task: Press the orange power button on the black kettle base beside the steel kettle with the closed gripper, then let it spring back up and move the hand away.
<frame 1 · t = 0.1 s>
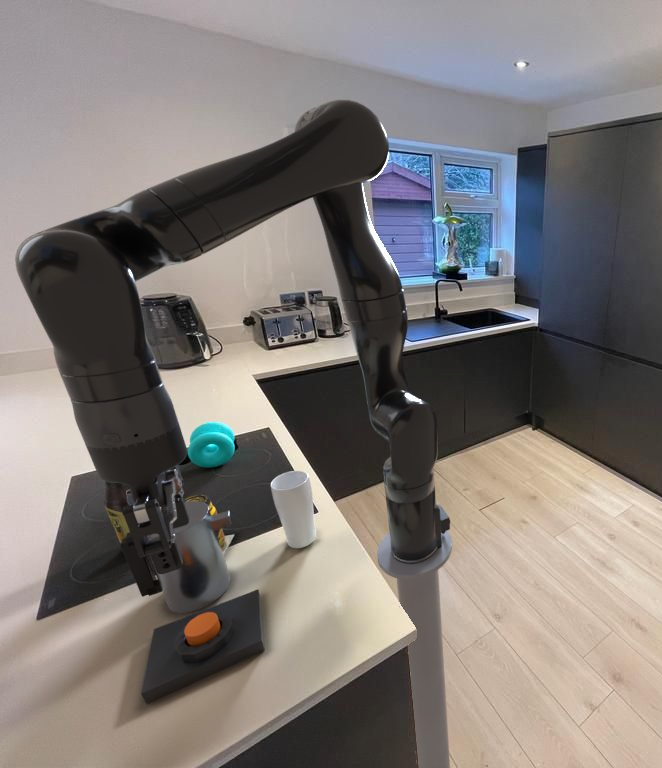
hand: (175, 545, 49), 24 cm above the worktop, tool pointing down, fingers open, 8 cm apart
kettle: (200, 590, 71), on the worktop
drinking glass: (302, 541, 83), on the worktop
sauce bottle: (145, 546, 81), on the worktop
condiment: (204, 551, 80), on the worktop
kettle base: (210, 644, 62), on the worktop
turquoise yo-yo: (216, 460, 111), on the worktop
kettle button: (202, 628, 60), point 5 cm above the worktop, slide at 0.1 cm
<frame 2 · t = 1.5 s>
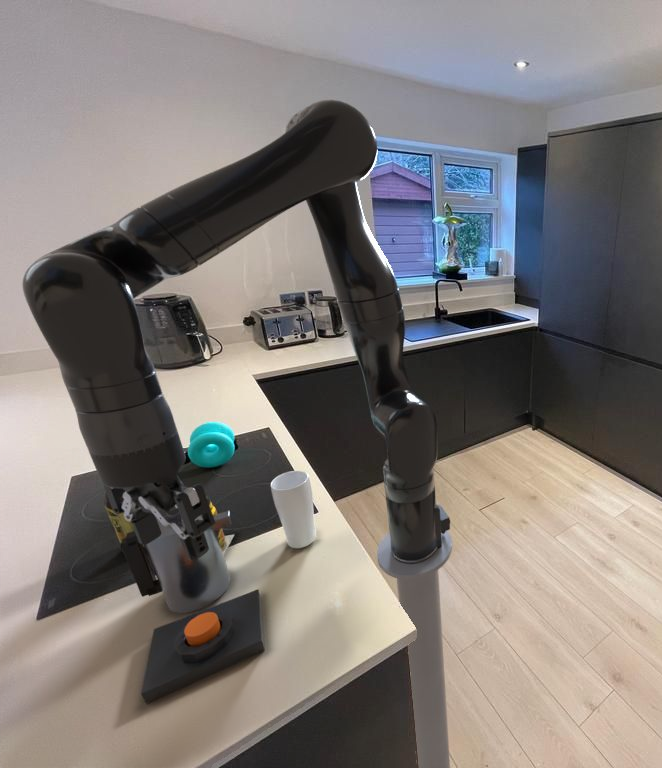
hand: (174, 547, 51), 22 cm above the worktop, tool pointing down, fingers open, 8 cm apart
nothing on the worktop moved.
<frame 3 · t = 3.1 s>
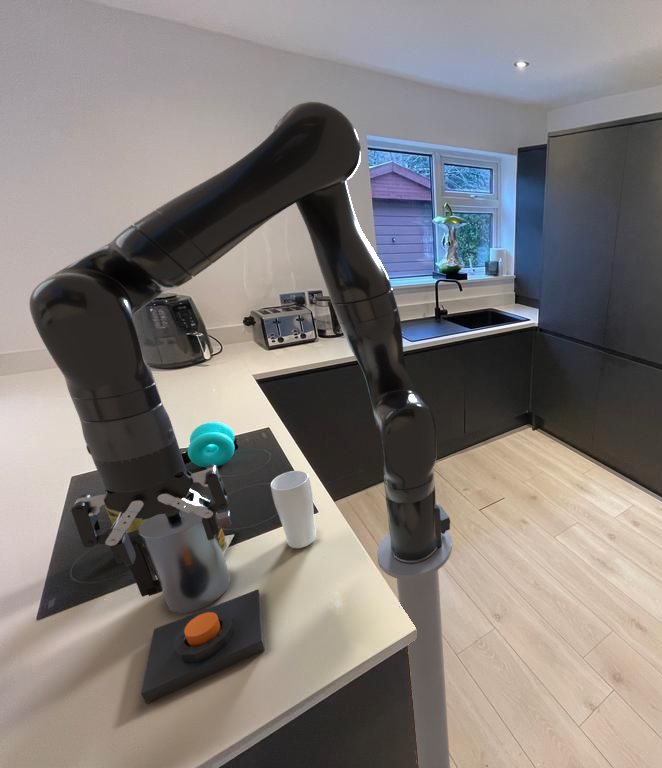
hand: (172, 548, 54), 20 cm above the worktop, tool pointing down, fingers open, 8 cm apart
nothing on the worktop moved.
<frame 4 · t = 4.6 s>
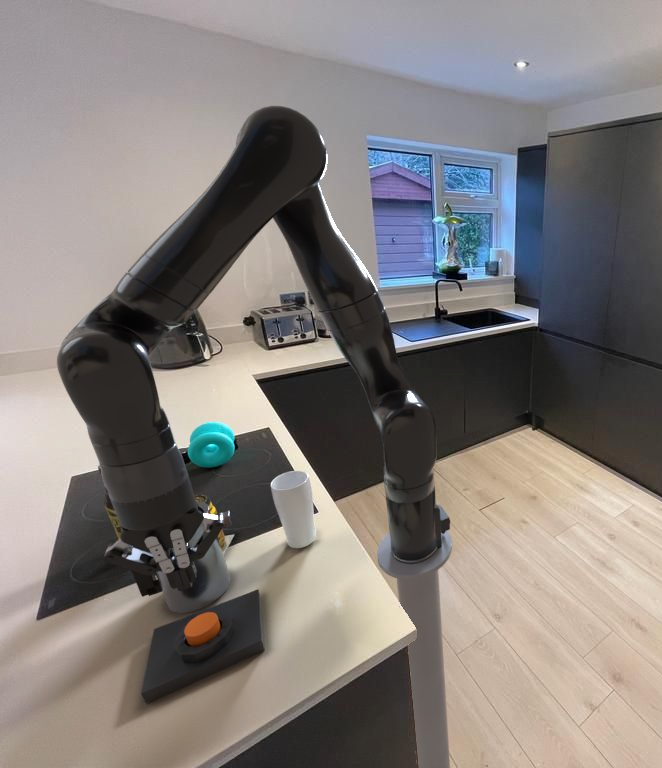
hand: (185, 584, 56), 13 cm above the worktop, tool pointing down, fingers closed
nothing on the worktop moved.
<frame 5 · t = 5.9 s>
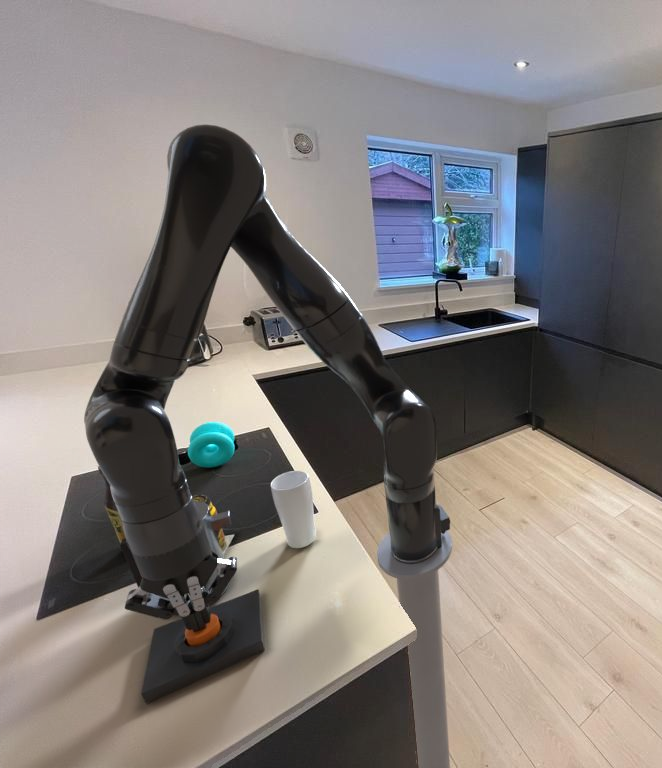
hand: (200, 625, 59), 5 cm above the worktop, tool pointing down, fingers closed
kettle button: (203, 630, 60), point 4 cm above the worktop, slide at -0.3 cm, touching gripper
everything else where it was.
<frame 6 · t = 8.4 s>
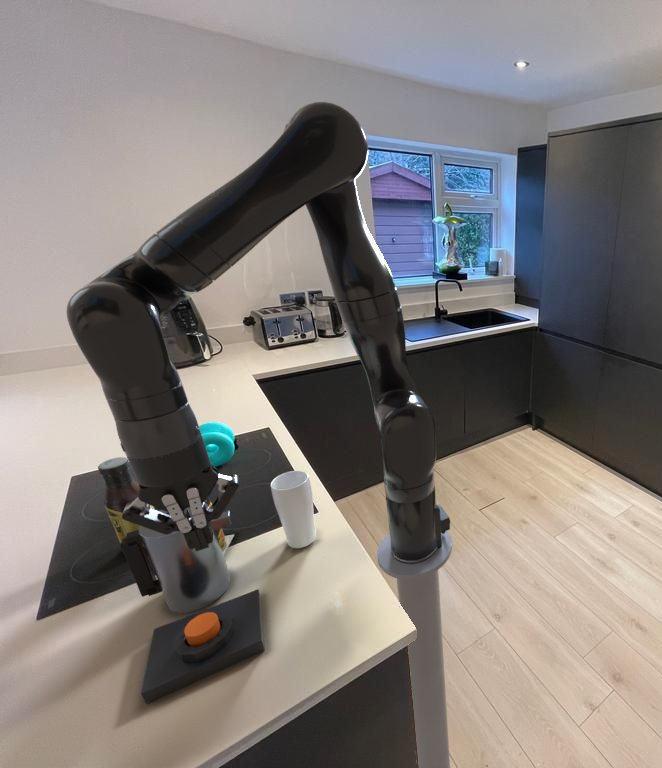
hand: (202, 545, 57), 18 cm above the worktop, tool pointing down, fingers closed
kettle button: (202, 628, 60), point 5 cm above the worktop, slide at 0.1 cm
everything else where it was.
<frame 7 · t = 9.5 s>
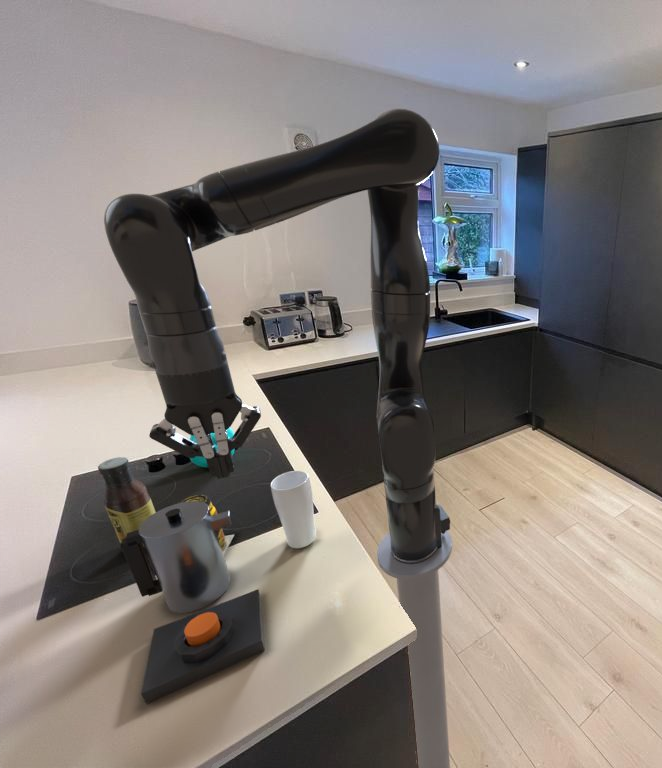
hand: (223, 475, 58), 27 cm above the worktop, tool pointing down, fingers closed
nothing on the worktop moved.
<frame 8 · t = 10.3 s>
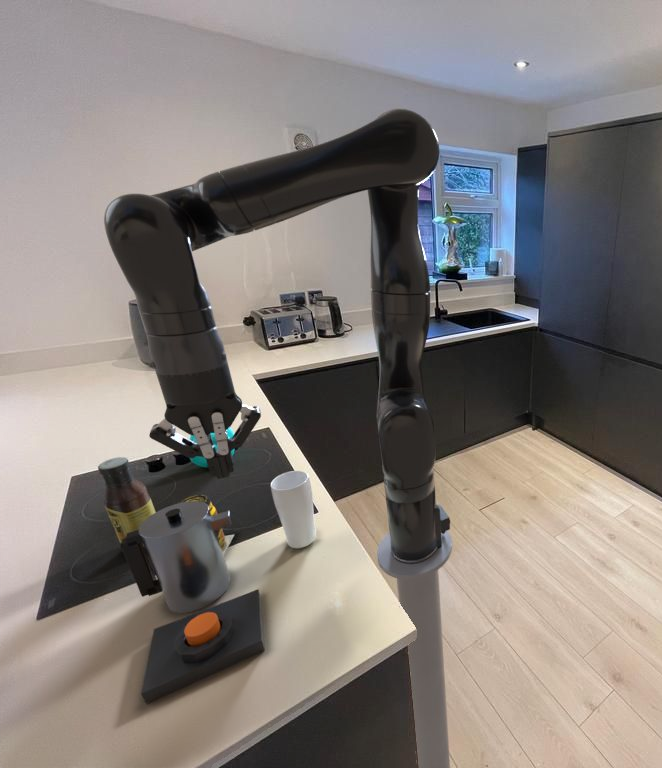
hand: (223, 475, 58), 27 cm above the worktop, tool pointing down, fingers closed
nothing on the worktop moved.
at the end: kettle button pushed in 1.1 cm at the most during the clip, back to where it started at the end; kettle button slide at 0.1 cm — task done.
